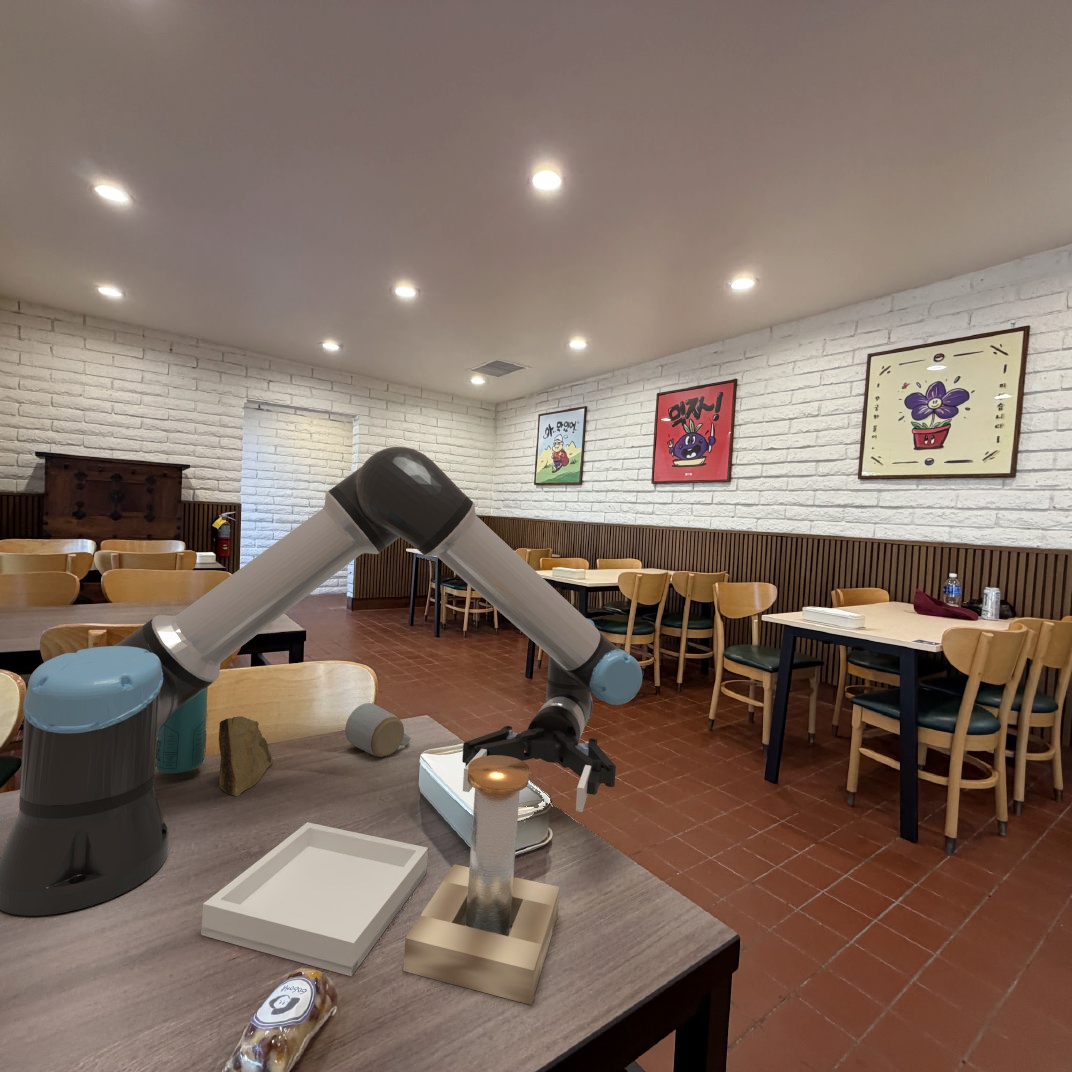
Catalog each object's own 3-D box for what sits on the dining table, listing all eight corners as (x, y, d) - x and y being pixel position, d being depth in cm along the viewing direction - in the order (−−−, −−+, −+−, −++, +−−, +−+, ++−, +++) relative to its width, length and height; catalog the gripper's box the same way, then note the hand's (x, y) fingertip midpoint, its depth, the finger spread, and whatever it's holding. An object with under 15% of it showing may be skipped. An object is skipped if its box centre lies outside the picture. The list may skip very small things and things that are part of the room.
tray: (201, 935, 54) (203, 903, 54) (305, 846, 69) (307, 822, 69) (351, 976, 50) (353, 943, 50) (426, 873, 66) (428, 847, 66)
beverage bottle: (212, 773, 87) (221, 644, 87) (165, 788, 81) (174, 650, 81) (190, 761, 90) (199, 637, 90) (144, 775, 85) (153, 642, 85)
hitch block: (403, 970, 51) (405, 938, 51) (452, 891, 63) (454, 864, 63) (531, 1005, 49) (533, 970, 48) (557, 914, 60) (559, 887, 60)
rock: (258, 742, 94) (196, 751, 86) (284, 707, 92) (224, 713, 84) (281, 799, 89) (218, 814, 81) (309, 763, 87) (247, 775, 79)
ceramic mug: (371, 764, 94) (375, 718, 94) (342, 750, 99) (346, 706, 99) (419, 749, 102) (423, 706, 103) (391, 736, 107) (394, 696, 108)
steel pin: (446, 955, 53) (459, 774, 53) (468, 914, 59) (479, 751, 59) (507, 970, 52) (520, 785, 52) (523, 927, 58) (535, 760, 58)
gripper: (637, 766, 83) (628, 841, 63) (477, 741, 89) (420, 803, 68) (641, 716, 83) (632, 774, 63) (480, 694, 89) (423, 742, 68)
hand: (521, 790), depth 65 cm, fingers open, 13 cm apart
